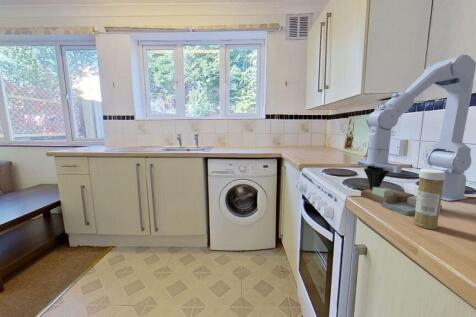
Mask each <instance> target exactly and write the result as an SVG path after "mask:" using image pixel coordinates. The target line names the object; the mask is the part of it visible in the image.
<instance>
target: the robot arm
mask: <svg viewBox="0 0 476 317" xmlns="http://www.w3.org/2000/svg"><path fill="white" fill-rule="evenodd" d="M475 73H476V61H475V60H474V59H473V58H472V57H471V56H470V55H468V54H461V55H459V56H455V57H452V58H448V59H445V60H442V61H438V62H433V63H432V64H430V65H429V66H428V67H426V68H424V70H423V73H422V74H421V75H420V76H419V77H418V78H417V79H415V80H414V81H413V83H412V84H411V85H410V86H409V87H407V88H406V90H405V91H404V92H403V91H400V92H396V93H393V94H392V95H391V96H390V97H391V98H390V99H389V100H388V101H386V102H385V103H384V104H382V105H380V107H379V109H378V110H375V111H372V112H371V113H370V114H369V115H368V117H367V119H365V120H366V125H367V126H368V132H369V135H368V147H367V157H366V159H362V158H357V159H355V165H357V166H364V167H365V168H363V171H364V173H365V174H366V177H367V181H368V184H369V189H370V190H372V191H373V187H380V186H381V185H382V182H383V181H384V179H385V178H386V176H387V175H388V174H389V173H390V172H392V173H394V174H398V173H399V174H401V173H402V168H403V167H402V166H401V165H397V164H394V163H389V156H390V145H391V137H392V128H394V127H395V126H397V124H398V122H399V119H400V117H401V116H403V114H405V113H406V112H407V111H408V110H409V109H410V108H411V107H413V105H414V103H415V99H416V98H417V97H418V96H419V95H421V94H422V93H423V92H424V91H426V90H427V89H429V88H430V87H432V85H435V86H437V87H439V88H441V89H444V90H445V91H446V92H447V95H446V97H447V98H446V100H445V102H446V103H445V108H444V113H443V119H442V123H441V130H440V136H439V140H438V141H437V142H436V143H434V144H432V145H431V148H430V151H429V153H428V154H427V157H426V161H427V162H426V163H427V164H428V165H429V166H430V168H429V169H434V170H440V171H444V172H445V173H446V174H445V180H444V182H443V188H442V196H441V200H444V201H447V202H453V201H458V200H466V199H468V196H466V195H465V191H466V186H467V177H466V175H465V172H466V171H467V170H468V169H469V168H470V167H471V165H472V157H471V150H472V149H471V148H470V147H469V146H468V145H467V144H465V143H464V134H465V130H466V125H467V120H468V113H469V108H470V104H471V98H472V93H473V88H474V78H475ZM464 195H465V196H464Z"/></svg>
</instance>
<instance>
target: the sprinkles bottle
mask: <svg viewBox="0 0 476 317" xmlns="http://www.w3.org/2000/svg"><path fill="white" fill-rule="evenodd" d="M418 173H419V174H418V177H419V180H418V188H417V194H416V196H417V200H416V208H415V214H414V218H413V224H414V225H416V226H418V227H421V228H422V229H429V230H435V229H438V228H439V227H438V226H439V225H438V223H439V216H440V206H441V204H442V199H441V196H442V188H443V182H444V180H445V174H446V173H445V172H444V171H440V170H434V169H431V168H420V169H419V172H418Z"/></svg>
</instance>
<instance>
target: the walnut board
mask: <svg viewBox="0 0 476 317" xmlns="http://www.w3.org/2000/svg"><path fill="white" fill-rule="evenodd" d="M385 187H386V188H390V189H394V188H391V187H387V186H385ZM412 196H415V194H413V193H409V192H405V191H403V190H399V189H396V188H395V189H394V195H393V196H389V197H382V196H379V195H376V194H373V193H372V190H370V188H369V189H368V188H367V189H362V190H360V197H362V198H365V199H367V200H371V201H373V202H377V203H378V204H381V205H382V202H385V203H388V204H391V203H398V202H405V201H407V200H408V197H412Z"/></svg>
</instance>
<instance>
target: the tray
mask: <svg viewBox="0 0 476 317" xmlns="http://www.w3.org/2000/svg"><path fill="white" fill-rule="evenodd" d="M381 207H383V208H386V209H389V210H391V211H394V212H397V213H399V214H401V215H405V216H411V215H415V208H416V206H413V205H410V204H407V201H405V202H398V203H391V204H388V203H385V202H382V204H381ZM442 209H443V205H441V206H440V210H442Z"/></svg>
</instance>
